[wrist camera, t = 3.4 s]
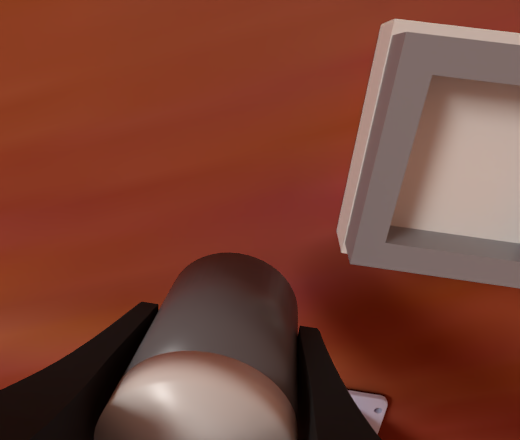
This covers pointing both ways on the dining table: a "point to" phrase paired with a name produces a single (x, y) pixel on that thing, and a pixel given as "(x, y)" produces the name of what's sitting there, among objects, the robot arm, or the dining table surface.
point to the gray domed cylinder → (213, 359)
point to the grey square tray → (438, 156)
